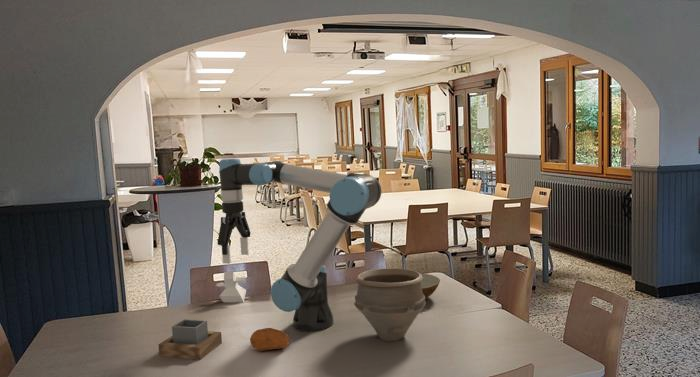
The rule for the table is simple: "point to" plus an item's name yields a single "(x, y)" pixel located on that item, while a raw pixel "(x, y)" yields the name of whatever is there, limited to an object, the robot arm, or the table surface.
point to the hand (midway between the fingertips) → (236, 258)
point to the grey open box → (190, 332)
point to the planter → (390, 300)
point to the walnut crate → (190, 347)
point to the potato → (269, 339)
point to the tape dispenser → (232, 288)
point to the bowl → (429, 284)
